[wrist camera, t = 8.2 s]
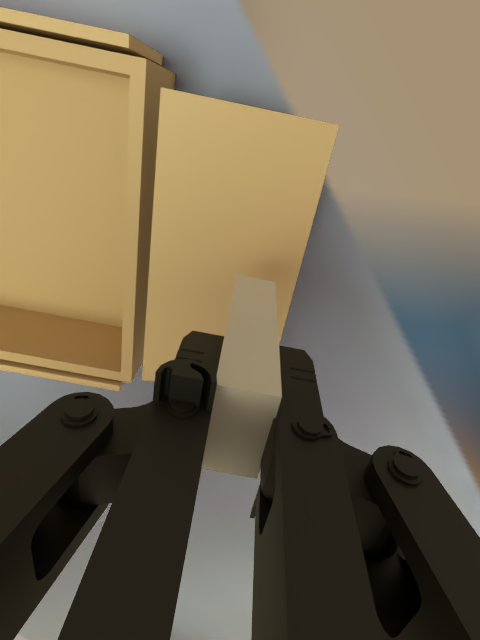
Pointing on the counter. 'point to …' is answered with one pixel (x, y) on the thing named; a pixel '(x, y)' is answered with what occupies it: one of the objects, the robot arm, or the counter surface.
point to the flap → (226, 212)
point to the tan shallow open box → (75, 197)
